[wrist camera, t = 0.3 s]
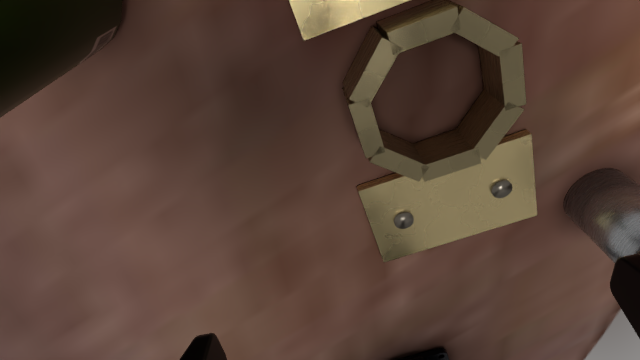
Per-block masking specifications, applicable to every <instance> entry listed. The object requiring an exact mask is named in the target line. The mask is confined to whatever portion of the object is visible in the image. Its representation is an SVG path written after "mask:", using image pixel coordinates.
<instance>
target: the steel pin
mask: <svg viewBox="0 0 640 360" xmlns="http://www.w3.org/2000/svg"><path fill="white" fill-rule="evenodd" d="M564 210H565V212H566V214H567V215H568V216H569V217H570V218H571V219H572V220H573V221H574V222H575V223H576V224H577V225H578V226H579V227H580V228H581V229H582V230H583V231H584V232H585V233H586V234H587V235H588V236H589V237H590V238H591V239H592V240H593V241H594V242H595V244H596V245H597V246H598V247H599V248H600V249H601V250H602V251H603V252H604V253H605V254H606V255H607V256H608V257H609V258H610V259H611V260H612V261H613V262H614V263H615V262H616V260H617V259H618V258H619V257H622V256H628V255H633V254H639V255H640V185H639V184H638V183H636V182H635V181H634V180H632V179H631V178H629V177H628V176H627V175H625V174H624V173H623V172H621V171H619V170H617V169H612V168H605V169H599V170H596V171H593V172H591V173H588V174H587V175H585V176H583V177H582V178H580V179H579V180H578V181H577V182H576V183H575V184H574V185H573V186H572V187H571V188H570V189H569V191H568V192H567V194H566V197H565V199H564Z"/></svg>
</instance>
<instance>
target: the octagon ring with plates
mask: <svg viewBox="0 0 640 360" xmlns="http://www.w3.org/2000/svg"><path fill="white" fill-rule="evenodd" d="M407 1H410V0H289V2H290V4H291V7H292V10H293V13H294V15H295V18H296V21H297V24H298V26H299V29H300V32H301V35H302V38H303V40H304V41H305V40H307V39H310V38H312V37H315V36H318V35H320V34H323V33H326V32H328V31H331V30H333V29H336V28H339V27H341V26H344V25H347V24H349V23H352V22H354V21H357V20H360V19H362V18H365V17H368V16H370V15H373V14H375V13H378V12H381V11H383V10H386V9H389V8H391V7H394V6H396V5H399V4H402V3H404V2H407ZM377 26H378V29H377V28H375V27H373V26H371V28H370V30H369V32H368V34H367V36H366V38H365V40H364V42H363V44H362V46H361V48H360V49H359V51H358V53H357V55H356V57H355V59H354V61H353V63H352V65H351V67H350V69H349V71H348V73H347V75H346V77H345V79H344V81H343V85H344V87H343V88H342V89H343V92H344V95H345V98H346V101H347V104H348V107H349V110H350V113H351V116H352V119H353V122H354V125H355V128H356V131H357V134H358V137H359V140H360V143H361V146H362V148H363V151H364V154H365V157H366V158H368V159H369V162H371V163H373V164H376V165H378V166H381V167H383V168H386V169H388V170H391V171H393V172H396V173H394V174H391V175H388V176H385V177H382V178H379V179H376V180H373V181H370V182H367V183H364V184H361V185H358V186H357V189H358V192H359V195H360V198H361V200H362V203H363V206H364V209H365V211H366V214H367V217H368V220H369V223H370V225H371V228H372V231H373V234H374V236H375V239H376V242H377V245H378V247H379V250H380V253H381V256H382V258H383V261H384V262H387V261H390V260H394V259H397V258H400V257H403V256H407V255H410V254H413V253H416V252H420V251H423V250H426V249H429V248H433V247H436V246H439V245H442V244H445V243H449V242H452V241H455V240H458V239H462V238H465V237H468V236H471V235H475V234H478V233H481V232H484V231H488V230H491V229H494V228H497V227H501V226H504V225H507V224H510V223H514V222H517V221H520V220H523V219H526V218H530V217H533V216H536V215H537V205H536V191H535V177H534V162H533V148H532V134H531V133H530V132H528V131H527V130H523V131H520V132H517V133H514V134H511V135H508V136H505V134H506V133H507V132H508V130H509V129H510V128H511V127H512V125H513V124H514V123H515V121H516V120H517V119H518V117H519V116H520V115H521V113H522V112H523V111H524V109H523V108H521V107H520V106H522V105H525V104H526V94H525V80H524V67H523V53H522V43H520V42H518V41H517V40H518V39H519V38H517V37H515V36H514V35H512V34H510V33H508V32H507V31H505V30H503V29H501V28H500V27H498V26H496V25H494V24H493V23H491V22H489V21H487V20H486V19H484V18H482V17H480V16H479V15H477V14H475V13H473V12H472V11H470V10H468V9H466V8H465V7H462V6H460V5H458V4H456V3H454V2H451V1H449V0H432V1H429V2H427V3H424V4H421V5H419V6H416V7H414V8H411V9H408V10H406V11H403V12H400V13H398V14H395V15H392V16H390V17H387V18H384V19H382V20H379V21H377ZM452 33H456V34H458V35H460V36H462V37H464V38H466V39H467V40H469V41H471V42H473V43H475V44H477V45H478V48H479V56H480V63H481V71H482V78H483V86H484V90H483V91H482V93H481V94H480V96H479V97H478V99H477V100H476V101H475V103H474V104H473V106H472V107H471V109H470V110H469V111H468V113H467V114H466V116H465V117H464V119H463V120H462V122H461V123H460V124H459V126H458V127H457V129H455V130H452V131H449V132H446V133H443V134H440V135H437V136H434V137H431V138H428V139H425V140H422V141H419V142H416V143H410V142H408V141H406V140H403V139H401V138H399V137H396V136H394V135H392V134H389V133H387V132H385V131H382V130H380V129H378V125H377V122H376V119H375V115H374V112H373V109H372V105H371V102H372V100H373V98H374V96H375V95H376V93H377V91H378V89H379V87H380V86H381V84H382V82H383V80H384V79H385V77H386V75H387V73H388V71H389V70H390V68H391V66H392V64H393V63H394V61H395V59H396V57H397V55H398V54H399V53H401V52H403V51H406V50H409V49H412V48H414V47H417V46H420V45H423V44H425V43H428V42H431V41H433V40H436V39H439V38H442V37H444V36H447V35H450V34H452ZM504 136H505V137H504Z"/></svg>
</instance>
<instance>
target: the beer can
mask: <svg viewBox="0 0 640 360" xmlns="http://www.w3.org/2000/svg"><path fill="white" fill-rule="evenodd" d="M121 14H122V0H0V117H2V116H3V115H5V114H6V113H8V112H9V111H11V110H12V109H14V108H15V107H17V106H18V105H19V104H21V103H22V102H24V101H25V100H27V99H28V98H30V97H31V96H33V95H34V94H36V93H37V92H39V91H40V90H42V89H43V88H44V87H46V86H47V85H49V84H50V83H52V82H53V81H55V80H56V79H58V78H59V77H61V76H62V75H64V74H65V73H67V72H68V71H70V70H71V69H72V68H74V67H75V66H77V65H78V64H80V63H81V62H83V61H84V60H86V59H87V58H89V57H90V56H92V55H93V54H95V53H96V52H97V51H99V50H100V49H102V48H103V47H104V46H105V45H106V44H107V43H108V42H109V41H110V40H111V39H112V38H113V37H114V35H115V33H116V31H117V29H118V26H119V24H120V22H121Z"/></svg>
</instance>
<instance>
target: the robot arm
mask: <svg viewBox="0 0 640 360" xmlns="http://www.w3.org/2000/svg"><path fill="white" fill-rule="evenodd" d="M610 288H611V292H612V294H613V296H614V297H615V299H616V301H617V302H618V304H619V306H620V307H621V309H622V310H623V312H624V314H625V315H626V317H627V319H628V320H629V322H630V323H631V325H632V327H633V328H634V330H635V332H636V333H637V335H638V337H639V338H640V255H639V254H633V255H628V256H622V257H619V258H618V259H617V260H616V262H615V266H614V269H613V273H612V277H611V281H610ZM180 360H227V358H226V355H225V352H224V350H223V348H222V346H221V344H220V342H219V340H218V338H217V336H216V335H215V334H214V333H209V334H204V335H199V336H197V337H195V338H194V339H193V341H192V342H191V344H190V345H189V347H188V348H187V350H186V351H185V352H184V354H183V355H182V357H181V358H180ZM400 360H449V358H448V355H447V352H446V350H445V349H444V348H439V349H435V350H432V351H428V352H425V353H421V354H417V355H414V356H410V357H407V358H403V359H400Z"/></svg>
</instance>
